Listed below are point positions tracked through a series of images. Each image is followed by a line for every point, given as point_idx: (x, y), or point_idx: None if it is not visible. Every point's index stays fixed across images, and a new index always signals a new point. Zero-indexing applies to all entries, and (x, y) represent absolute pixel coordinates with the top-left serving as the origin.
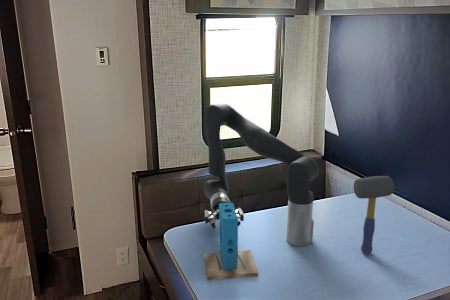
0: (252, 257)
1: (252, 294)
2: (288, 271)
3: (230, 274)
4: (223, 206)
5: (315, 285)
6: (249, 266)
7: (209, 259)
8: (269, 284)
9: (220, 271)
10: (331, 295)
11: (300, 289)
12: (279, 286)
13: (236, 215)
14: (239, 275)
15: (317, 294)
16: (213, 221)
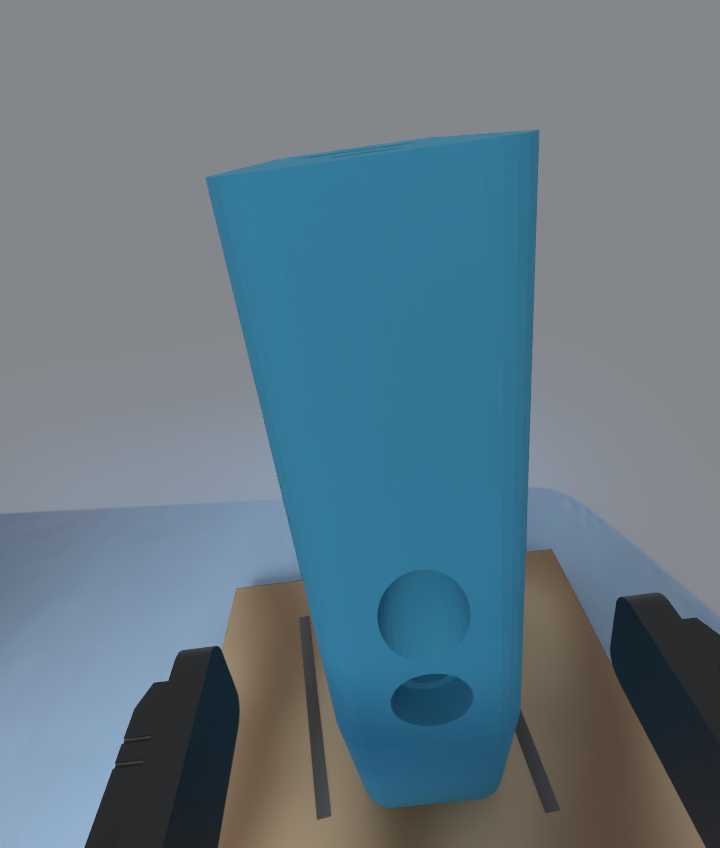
0: None
1: None
2: (39, 655)
3: None
4: (426, 143)
5: (10, 557)
6: (269, 642)
7: (605, 740)
8: (211, 555)
9: None
10: (8, 513)
11: (95, 534)
12: (172, 546)
13: (280, 159)
14: None
15: (54, 514)
16: (676, 630)
